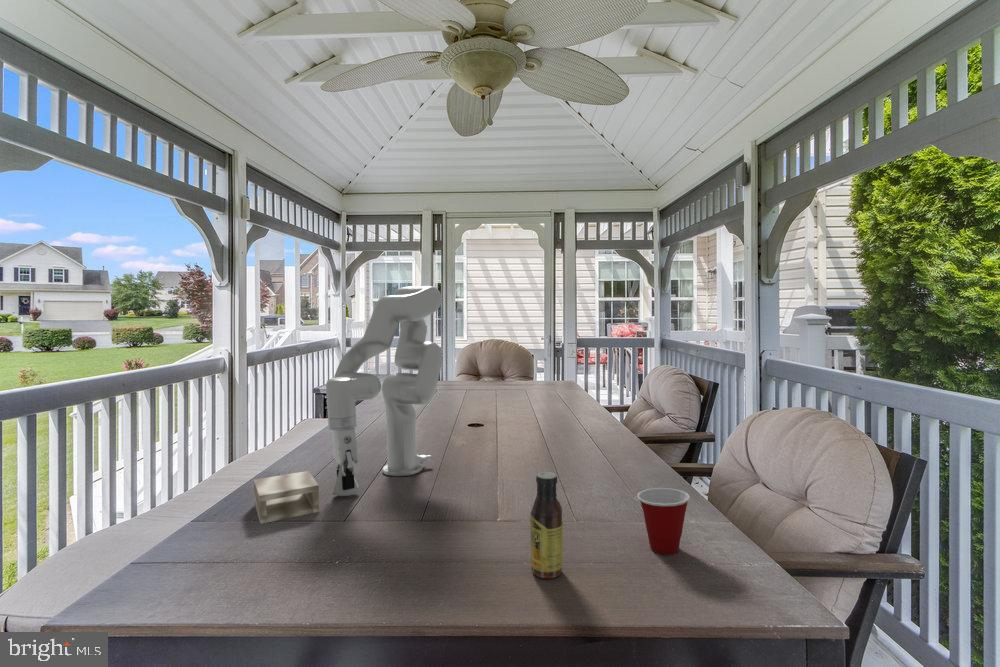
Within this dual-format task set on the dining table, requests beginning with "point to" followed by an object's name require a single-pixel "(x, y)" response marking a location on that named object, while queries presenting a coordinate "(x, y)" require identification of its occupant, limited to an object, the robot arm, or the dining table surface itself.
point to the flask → (338, 485)
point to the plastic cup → (664, 517)
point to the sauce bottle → (546, 528)
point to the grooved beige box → (286, 496)
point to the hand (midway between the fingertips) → (345, 485)
